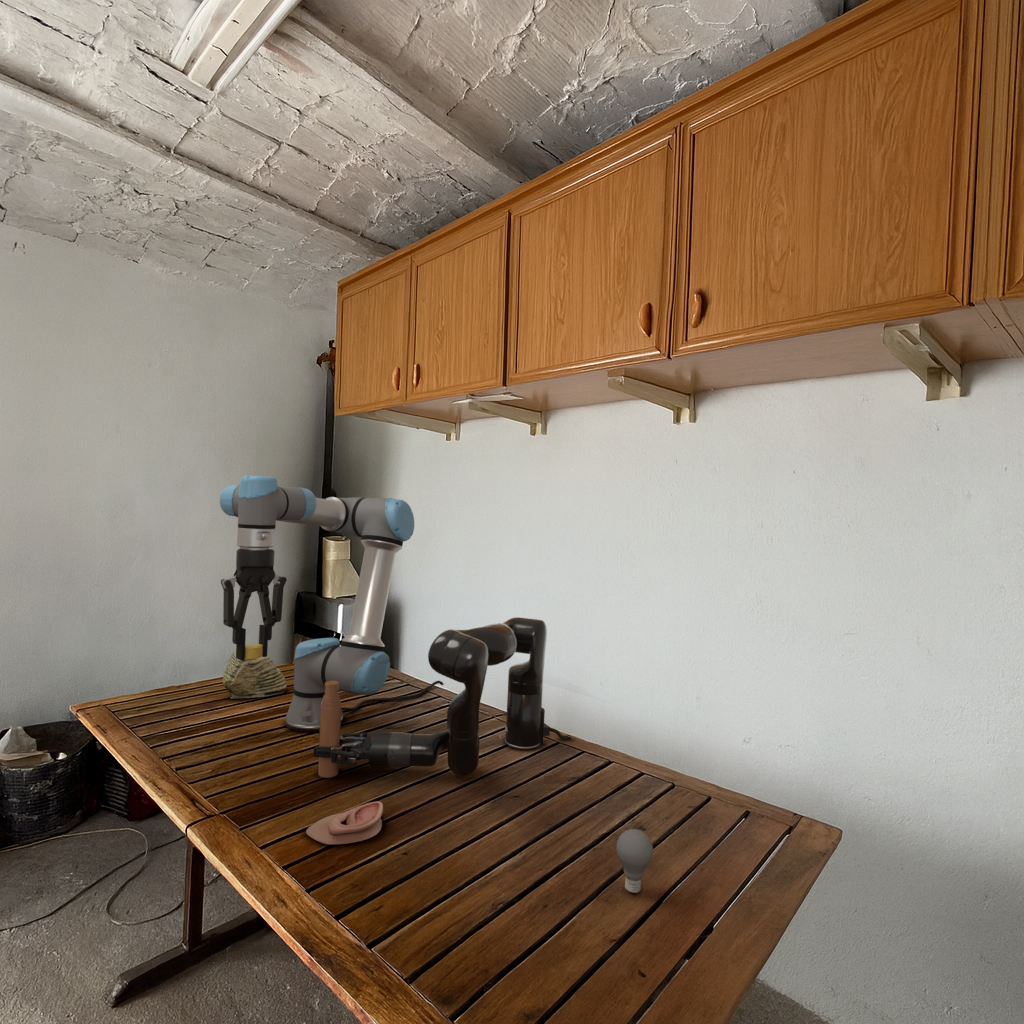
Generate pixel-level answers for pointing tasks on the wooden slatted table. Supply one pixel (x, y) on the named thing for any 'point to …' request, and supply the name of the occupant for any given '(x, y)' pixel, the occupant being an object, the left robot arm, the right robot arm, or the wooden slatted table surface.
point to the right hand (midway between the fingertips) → (317, 747)
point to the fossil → (253, 677)
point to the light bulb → (634, 857)
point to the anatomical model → (348, 825)
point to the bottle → (329, 727)
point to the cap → (253, 651)
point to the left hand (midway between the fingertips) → (251, 657)
